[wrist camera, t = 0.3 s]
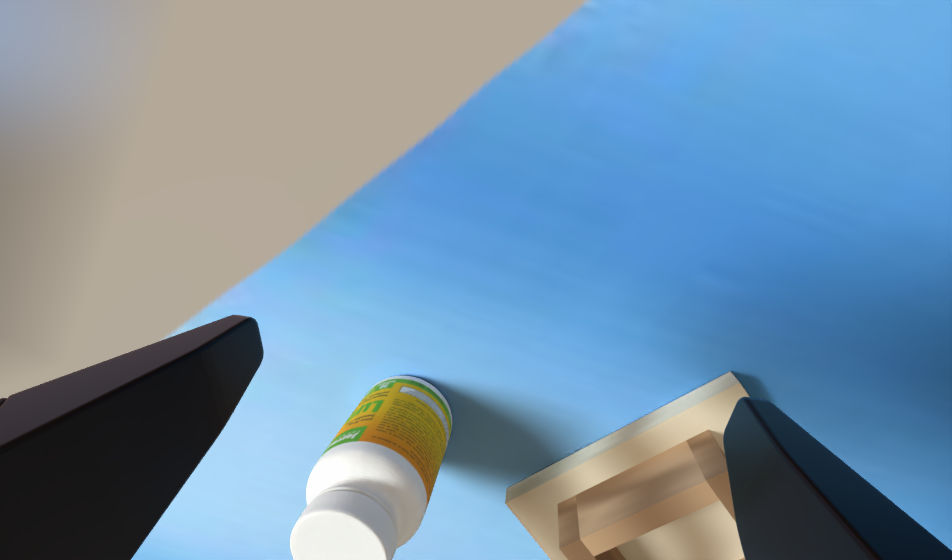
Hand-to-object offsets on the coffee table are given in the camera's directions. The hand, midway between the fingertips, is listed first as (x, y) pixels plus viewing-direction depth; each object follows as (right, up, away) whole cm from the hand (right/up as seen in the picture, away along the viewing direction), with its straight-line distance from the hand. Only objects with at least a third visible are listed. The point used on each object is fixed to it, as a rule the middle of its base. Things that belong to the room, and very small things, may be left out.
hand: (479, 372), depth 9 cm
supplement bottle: (-4, -6, +18) cm, 20 cm away
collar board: (+11, -11, +18) cm, 24 cm away
